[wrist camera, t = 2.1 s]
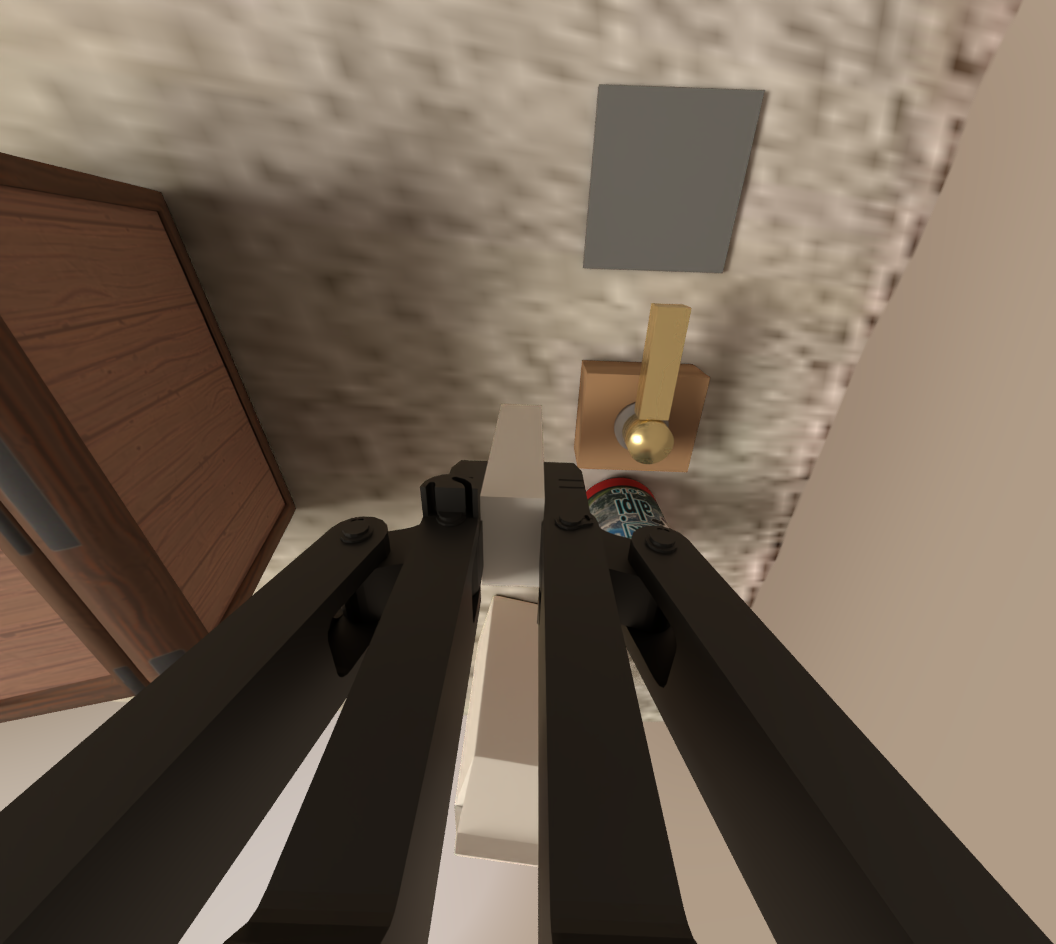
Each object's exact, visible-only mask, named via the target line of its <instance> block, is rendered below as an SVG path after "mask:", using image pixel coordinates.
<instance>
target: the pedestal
mask: <svg viewBox="0 0 1056 944" xmlns="http://www.w3.org/2000/svg"><path fill="white" fill-rule="evenodd" d="M641 366H642V362H616V361H588V360H582V367H581V378H580V389H579V399H578V410H577V421H576V432H575V442H574V450H575V456H576V461H577V467H578V468H585V469H613V470H641V471H669V472H687V471H688V467H689V463H690V459H691V455H692V450H693V446H694V442H695V438H696V434H697V430H698V426H699V422H700V418H701V414H702V409H703V405H704V401H705V397H706V393H707V389H708V385H709V381H710V377H709V376H707V375H706V374H705V373H703V372H702V371H701V370H699V369H698V368H697V367H696V366H694V365H693V364H680V367H679V372H678V376H677V381H676V386H675V391H674V396H673V401H672V406H671V411H670V415H669V420H663V422H664V423H665V424H666V426H667V427H668V428H669V430H670V431H671V433H672V435H673V438H674V445H673V448H672V450H671V452H670V454H669V455H668V456H667V457H666V458H665V459H663V460H662V461H660V462H658V463H655V464H642V463H639V462H637V461H636V460H634V459H633V458H632V456H631V455H630V453H629V451H628V448H627V446H626V444H625V442H624V439H623V436H622V429H623V426H624V424H625V422H626V420H627V419H628V418H629V417H630V416H632V415H633V414H635V411H634V409H635V403H636V397H637V391H638V384H639V378H640V372H641Z"/></svg>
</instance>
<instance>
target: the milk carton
mask: <svg viewBox="0 0 1056 944" xmlns="http://www.w3.org/2000/svg"><path fill="white" fill-rule="evenodd" d="M537 614H538V604H534V603H529V602H524V601H520V600H515V599H510V598H506V597H501V596H493V599H492V602H491V605H490V608H489V611H488V614H487V617H486V620H485V623H484V626H483V629H482V632H481V636H480V639H479V642H478V647H477V654H476V661H475V668H474V675H473V682H472V689H471V696H470V703H469V710H468V716H467V724H466V730H465V737H464V745H463V751H462V758H461V765H460V772H459V779H458V786H457V793H456V799H455V820H456V841H455V849H454V855H456V856H464V857H471V858H478V859H485V860H493V861H499V862H506V863H513V864H521V865H528V866H535V867H538V624H537Z"/></svg>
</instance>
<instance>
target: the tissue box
mask: <svg viewBox="0 0 1056 944" xmlns="http://www.w3.org/2000/svg"><path fill="white" fill-rule="evenodd" d="M295 509H296V508H295V505H294V503H293V501H292V498H291V496H290V493H289V491H288V489H287V486H286V484H285V482H284V479H283V477H282V475H281V472H280V470H279V468H278V465H277V463H276V461H275V458H274V456H273V453H272V451H271V449H270V446H269V444H268V442H267V439H266V437H265V435H264V432H263V430H262V428H261V425H260V423H259V421H258V418H257V416H256V414H255V411H254V409H253V407H252V404H251V402H250V399H249V397H248V395H247V392H246V390H245V388H244V385H243V383H242V381H241V378H240V376H239V374H238V371H237V369H236V367H235V364H234V362H233V360H232V357H231V355H230V353H229V350H228V348H227V346H226V343H225V341H224V338H223V336H222V334H221V331H220V329H219V327H218V324H217V322H216V320H215V317H214V315H213V313H212V310H211V308H210V306H209V303H208V301H207V299H206V296H205V294H204V292H203V289H202V287H201V284H200V282H199V280H198V277H197V275H196V273H195V270H194V268H193V266H192V263H191V261H190V259H189V256H188V254H187V252H186V249H185V247H184V245H183V242H182V240H181V238H180V235H179V233H178V230H177V228H176V226H175V223H174V221H173V219H172V216H171V214H170V212H169V209H168V207H167V205H166V203H165V200H164V198H163V196H162V194H161V192H158V191H155V190H151V189H147V188H143V187H139V186H135V185H131V184H127V183H123V182H119V181H115V180H111V179H107V178H102V177H98V176H94V175H90V174H86V173H82V172H78V171H74V170H70V169H66V168H62V167H58V166H54V165H49V164H45V163H41V162H37V161H33V160H29V159H25V158H21V157H17V156H13V155H9V154H5V153H1V152H0V723H2V722H7V721H12V720H17V719H22V718H27V717H32V716H37V715H42V714H47V713H52V712H57V711H62V710H67V709H72V708H77V707H82V706H87V705H92V704H97V703H102V702H107V701H112V700H117V699H122V698H127V697H132V696H136V695H137V694H138V693H140V692H141V691H142V690H143V689H144V688H145V687H147V686H148V685H149V684H150V683H151V682H152V681H154V680H155V679H156V678H157V677H158V676H159V675H161V674H162V673H163V672H164V671H165V670H166V669H168V668H169V667H170V666H171V665H172V664H173V663H175V662H176V661H177V660H178V659H179V658H180V657H182V656H183V655H184V654H185V653H186V652H187V651H189V650H190V649H191V648H192V647H193V646H194V645H196V644H197V643H198V642H199V641H200V640H201V639H203V638H204V637H205V636H206V635H207V634H208V633H210V632H211V631H212V630H213V629H214V628H215V627H217V626H218V625H219V624H220V623H221V622H222V621H224V620H225V619H226V618H227V617H228V616H229V615H231V614H232V613H233V612H234V611H235V610H236V609H238V608H239V607H240V606H241V605H242V604H243V603H245V602H246V601H247V600H248V599H249V598H250V597H252V595H253V593H254V591H255V589H256V587H257V585H258V583H259V581H260V579H261V577H262V575H263V573H264V571H265V569H266V567H267V565H268V563H269V561H270V559H271V557H272V555H273V553H274V551H275V549H276V547H277V545H278V544H279V542H280V540H281V538H282V536H283V534H284V532H285V530H286V528H287V526H288V524H289V522H290V520H291V518H292V516H293V514H294V512H295Z"/></svg>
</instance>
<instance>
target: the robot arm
mask: <svg viewBox="0 0 1056 944" xmlns="http://www.w3.org/2000/svg"><path fill="white" fill-rule="evenodd" d="M420 491H421V501H422V510H423V518H422V521H421V523H420V524H419V525H417V526H414V527H411V528H406V529H401V530H395V531H389V532H388V528H387V525H386V524H385V523H384V521H383V520H380V519H378V518H375V517H355V518H351V519H348V520H345V521H343V522H340V523H338V524H337V525H335V526H334V527H332V528H331V529H330V530H328V531H327V532H326V533H325V534H324V535H323V536H321V537H320V538H319V539H318V540H317V541H316V542H314V543H313V544H312V545H311V546H310V547H309V548H308V549H306V550H305V551H304V552H303V553H302V554H301V555H299V556H298V557H297V558H296V559H295V560H294V561H292V562H291V563H290V564H289V565H288V566H287V567H285V568H284V569H283V570H282V571H281V572H280V573H278V574H277V575H276V576H275V577H274V578H273V579H271V580H270V581H269V582H268V583H267V584H266V585H264V586H263V587H262V588H261V589H260V590H259V591H257V592H256V593H255V594H254V595H253V596H252V597H250V598H249V599H248V600H247V601H246V602H245V603H243V604H242V605H241V606H240V607H239V608H238V609H236V610H235V611H234V612H233V613H232V614H231V615H229V616H228V617H227V618H226V619H225V620H224V621H222V622H221V623H220V624H219V625H218V626H217V627H215V628H214V629H213V630H212V631H211V632H210V633H208V634H207V635H206V636H205V637H204V638H203V639H201V640H200V641H199V642H198V643H197V644H196V645H194V646H193V647H192V648H191V649H190V650H189V651H187V652H186V653H185V654H184V655H183V656H182V657H180V658H179V659H178V660H177V661H176V662H175V663H173V664H172V665H171V666H170V667H169V668H168V669H166V670H165V671H164V672H163V673H162V674H161V675H159V676H158V677H157V678H156V679H155V680H154V681H152V682H151V683H150V684H149V685H148V686H147V687H145V688H144V689H143V690H142V691H141V692H140V693H138V694H137V695H136V696H135V697H134V698H133V699H131V700H130V701H129V702H128V703H127V704H126V705H124V706H123V707H122V708H121V709H120V710H119V711H117V712H116V713H115V714H114V715H113V716H112V717H110V718H109V719H108V720H107V721H106V722H105V723H103V724H102V725H101V726H100V727H99V728H98V729H96V730H95V731H94V732H93V733H92V734H91V735H90V736H88V737H87V738H86V739H85V740H84V741H82V742H81V743H80V744H79V745H78V746H77V747H75V748H74V749H73V750H72V751H71V752H70V753H69V754H67V755H66V756H65V757H64V758H63V759H62V760H60V761H59V762H58V763H57V764H56V765H54V766H53V767H52V768H51V769H50V770H49V771H47V772H46V773H45V774H44V775H43V776H42V777H41V778H39V779H38V780H37V781H36V782H35V783H33V784H32V785H31V786H30V787H29V788H28V789H26V790H25V791H24V792H23V793H22V794H21V795H19V796H18V797H17V798H16V799H15V800H14V801H13V802H11V803H10V804H9V805H8V806H7V807H5V808H4V809H3V810H2V811H1V812H0V944H178V943H179V941H180V939H181V938H182V937H183V935H184V934H185V932H186V931H187V929H188V928H189V927H190V925H191V924H192V922H193V921H194V919H195V918H196V916H197V915H198V914H199V912H200V911H201V909H202V908H203V906H204V905H205V903H206V902H207V900H208V899H209V898H210V896H211V895H212V893H213V892H214V890H215V889H216V887H217V886H218V884H219V883H220V881H221V880H222V878H223V877H224V875H225V874H226V873H227V871H228V870H229V868H230V867H231V865H232V864H233V863H234V861H235V859H236V858H237V857H238V855H239V854H240V852H241V851H242V849H243V848H244V846H245V845H246V843H247V842H248V841H249V839H250V838H251V836H252V835H253V833H254V832H255V830H256V829H257V828H258V826H259V825H260V823H261V822H262V820H263V819H264V817H265V816H266V814H267V813H268V811H269V810H270V809H271V807H272V806H273V804H274V803H275V801H276V800H277V798H278V797H279V795H280V794H281V793H282V791H283V790H284V788H285V787H286V785H287V784H288V782H289V781H290V779H291V778H292V776H293V775H294V773H295V772H296V771H297V769H298V768H299V766H300V765H301V763H302V762H303V760H304V759H305V757H306V756H307V754H308V753H309V752H310V750H311V749H312V747H313V746H314V744H315V743H316V742H317V740H318V739H319V737H320V736H321V734H322V733H323V731H324V730H325V728H326V727H327V726H328V724H329V723H330V721H331V719H332V718H333V717H334V715H335V714H336V712H337V711H338V709H339V708H340V707H341V705H342V704H343V702H344V701H345V699H346V698H347V699H346V701H345V704H344V706H343V708H342V711H341V713H340V716H339V718H338V720H337V723H336V725H335V727H334V730H333V732H332V735H331V737H330V740H329V742H328V744H327V746H326V749H325V751H324V754H323V756H322V758H321V761H320V763H319V765H318V768H317V770H316V773H315V775H314V778H313V780H312V782H311V784H310V787H309V790H308V792H307V794H306V796H305V799H304V801H303V803H302V806H301V808H300V811H299V813H298V815H297V818H296V820H295V823H294V825H293V827H292V830H291V832H290V835H289V837H288V839H287V842H286V844H285V847H284V849H283V851H282V854H281V856H280V858H279V861H278V863H277V865H276V868H275V870H274V873H273V875H272V877H271V880H270V882H269V884H268V887H267V889H266V891H265V893H264V895H263V897H262V899H261V902H260V904H259V906H258V908H257V909H256V911H255V912H254V914H253V915H252V917H251V918H250V920H249V921H248V922H247V923H246V924H245V925H244V926H243V927H241V928H240V929H239V930H238V931H237V932H235V933H234V934H233V935H232V936H231V937H230V938H228V939H227V940H226V941H225V942H224V943H223V944H428V937H429V931H430V925H431V917H432V911H433V905H434V899H435V891H436V886H437V879H438V873H439V866H440V860H441V853H442V847H443V841H444V835H445V828H446V822H447V815H448V809H449V802H450V795H451V790H452V783H453V776H454V770H455V763H456V757H457V751H458V744H459V738H460V731H461V725H462V719H463V712H464V706H465V699H466V693H467V687H468V680H469V674H470V667H471V661H472V654H473V648H474V642H475V635H476V629H477V622H478V616H479V609H480V603H481V586H480V585H481V579H482V585H491V586H518V587H539V597H538V614H537V624H538V944H697V943H696V941H695V940H694V939H693V936H692V933H691V931H690V928H689V926H688V922H687V919H686V915H685V911H684V907H683V903H682V899H681V894H680V890H679V885H678V880H677V876H676V872H675V867H674V862H673V858H672V853H671V849H670V844H669V840H668V835H667V831H666V826H665V822H664V817H663V813H662V808H661V804H660V799H659V795H658V790H657V786H656V781H655V777H654V772H653V768H652V763H651V758H650V754H649V750H648V745H647V741H646V736H645V732H644V727H643V722H642V718H641V713H640V709H639V704H638V700H637V695H636V691H635V686H634V682H633V677H632V673H631V668H630V663H629V659H628V654H627V650H626V647H627V649H628V651H629V653H630V655H631V657H632V659H633V661H634V663H635V665H636V667H637V669H638V671H639V673H640V675H641V677H642V679H643V681H644V683H645V685H646V687H647V689H648V691H649V693H650V695H651V697H652V698H653V700H654V702H655V704H656V706H657V708H658V710H659V712H660V714H661V716H662V718H663V720H664V722H665V724H666V726H667V727H668V730H669V732H670V734H671V736H672V738H673V740H674V741H675V744H676V746H677V748H678V750H679V752H680V754H681V755H682V758H683V759H684V761H685V763H686V765H687V767H688V769H689V771H690V773H691V775H692V777H693V779H694V781H695V783H696V785H697V787H698V789H699V791H700V793H701V795H702V797H703V799H704V801H705V803H706V805H707V807H708V808H709V811H710V813H711V815H712V816H713V818H714V820H715V822H716V824H717V826H718V828H719V830H720V832H721V834H722V836H723V838H724V840H725V842H726V844H727V846H728V848H729V850H730V852H731V854H732V856H733V858H734V860H735V862H736V864H737V866H738V868H739V870H740V872H741V873H742V876H743V878H744V879H745V881H746V883H747V885H748V887H749V889H750V891H751V893H752V895H753V897H754V899H755V901H756V903H757V905H758V907H759V909H760V911H761V913H762V915H763V917H764V919H765V921H766V922H767V925H768V927H769V929H770V930H771V933H772V935H773V937H774V939H775V940H776V942H777V944H1053V943H1052V942H1051V941H1050V939H1049V938H1048V937H1047V936H1046V935H1045V934H1044V933H1043V932H1042V931H1041V930H1040V928H1039V927H1038V926H1037V925H1036V924H1035V923H1034V922H1033V921H1032V920H1031V919H1030V918H1029V916H1028V915H1027V914H1026V913H1025V912H1024V911H1023V910H1022V909H1021V907H1020V906H1019V905H1018V904H1017V903H1016V902H1015V901H1014V900H1013V899H1012V898H1011V896H1010V895H1009V894H1008V893H1007V892H1006V891H1005V890H1004V889H1003V888H1002V886H1001V885H1000V884H999V883H998V882H997V881H996V880H995V879H994V878H993V876H992V875H991V874H990V873H989V872H988V871H987V870H986V869H985V868H984V867H983V865H982V864H981V863H980V862H979V861H978V860H977V859H976V858H975V856H973V854H972V853H971V852H970V851H969V850H968V849H967V848H966V847H965V845H964V844H963V843H962V842H961V841H960V840H959V839H958V838H957V837H956V836H955V834H954V833H953V832H952V831H951V830H950V829H949V828H948V827H947V826H946V824H945V823H944V822H943V821H942V820H941V819H940V818H939V817H938V816H937V814H936V813H935V812H934V811H933V810H932V809H931V808H930V807H929V806H928V804H926V802H925V801H924V800H923V799H922V798H921V797H920V796H919V795H918V794H917V792H916V791H915V790H914V789H913V788H912V787H911V786H910V785H909V783H908V782H907V781H906V780H905V779H904V778H903V777H902V776H901V775H900V774H899V773H898V771H897V770H896V769H895V768H894V767H893V766H892V765H891V764H890V762H889V761H888V760H887V759H886V758H885V757H884V756H883V755H882V754H881V753H880V751H879V750H878V749H877V748H876V747H875V746H874V745H873V744H872V743H871V742H870V740H869V739H868V738H867V737H866V736H865V735H864V734H863V733H862V731H861V730H860V729H859V728H858V727H857V726H856V725H855V724H854V723H853V722H852V720H851V719H850V718H849V717H848V716H847V715H846V714H845V713H844V712H843V710H842V709H841V708H840V707H839V706H838V705H837V704H836V703H835V702H834V701H833V699H832V698H831V697H830V696H829V695H828V694H827V693H826V692H825V691H824V689H823V688H822V687H821V686H820V685H819V684H818V683H817V682H816V681H815V680H814V678H813V677H812V676H811V675H810V674H809V673H808V672H807V671H806V670H805V668H804V667H803V666H802V665H801V664H800V663H799V662H798V661H797V660H796V659H795V657H794V656H793V655H792V654H791V653H790V652H789V651H788V650H787V649H786V648H785V646H784V645H783V644H782V643H781V642H780V641H779V640H778V639H777V638H776V636H775V635H774V634H773V633H772V632H771V631H770V630H769V629H768V628H767V627H766V625H765V624H764V623H763V622H762V621H761V620H760V619H759V618H758V616H757V615H756V614H755V613H754V612H753V611H752V610H751V609H750V608H749V607H748V605H747V604H746V603H745V602H744V601H743V600H742V599H741V598H740V597H739V595H738V594H737V593H736V592H735V591H734V590H733V589H732V588H731V587H730V585H729V584H728V583H727V582H726V581H725V580H724V579H723V578H722V577H721V576H720V574H719V573H718V572H717V571H716V570H715V569H714V568H713V567H712V566H711V564H710V563H709V562H708V561H707V560H706V559H705V558H704V557H703V556H702V555H701V553H700V552H699V551H698V550H697V549H696V548H695V547H694V546H693V545H692V543H691V542H690V541H689V540H688V539H687V538H685V537H684V536H683V535H682V534H680V533H679V532H676V531H674V530H672V529H670V528H666V527H662V526H645V527H641V528H638V529H637V530H636V531H634V532H633V534H632V538H627V537H623V536H619V535H615V534H612V533H609V532H607V531H605V530H603V529H601V528H600V527H599V523H598V521H597V519H596V518H595V516H593V515H592V514H591V513H590V509H589V504H588V499H587V494H586V490H585V485H584V480H583V475H582V471H581V470H580V469H579V468H578V467H577V466H576V465H575V464H574V463H555V462H544V460H543V429H542V405H517V404H501V407H500V412H499V416H498V420H497V425H496V429H495V434H494V438H493V442H492V447H491V451H490V455H489V460H488V461H468V460H461V461H460V462H458V463H457V464H456V465H455V466H453V467H452V468H451V471H450V474H446V475H440V476H436V477H432V478H430V479H428V480H427V481H425V482H424V483H423V484H422V485H421V486H420ZM347 696H348V697H347Z"/></svg>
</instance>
